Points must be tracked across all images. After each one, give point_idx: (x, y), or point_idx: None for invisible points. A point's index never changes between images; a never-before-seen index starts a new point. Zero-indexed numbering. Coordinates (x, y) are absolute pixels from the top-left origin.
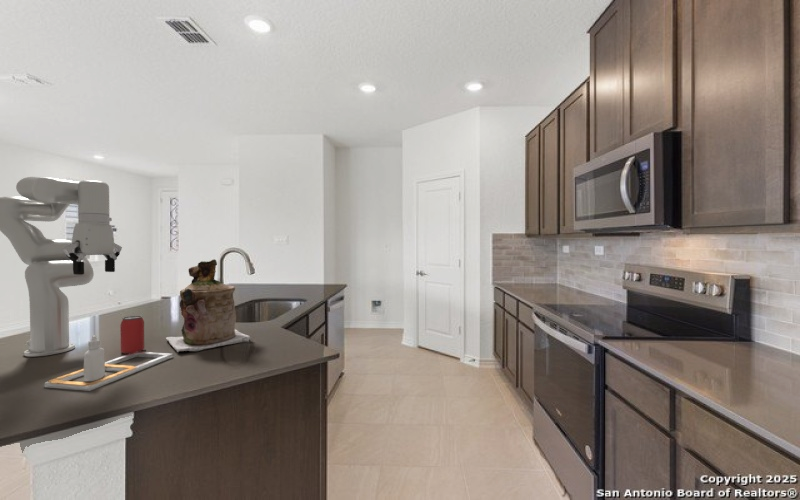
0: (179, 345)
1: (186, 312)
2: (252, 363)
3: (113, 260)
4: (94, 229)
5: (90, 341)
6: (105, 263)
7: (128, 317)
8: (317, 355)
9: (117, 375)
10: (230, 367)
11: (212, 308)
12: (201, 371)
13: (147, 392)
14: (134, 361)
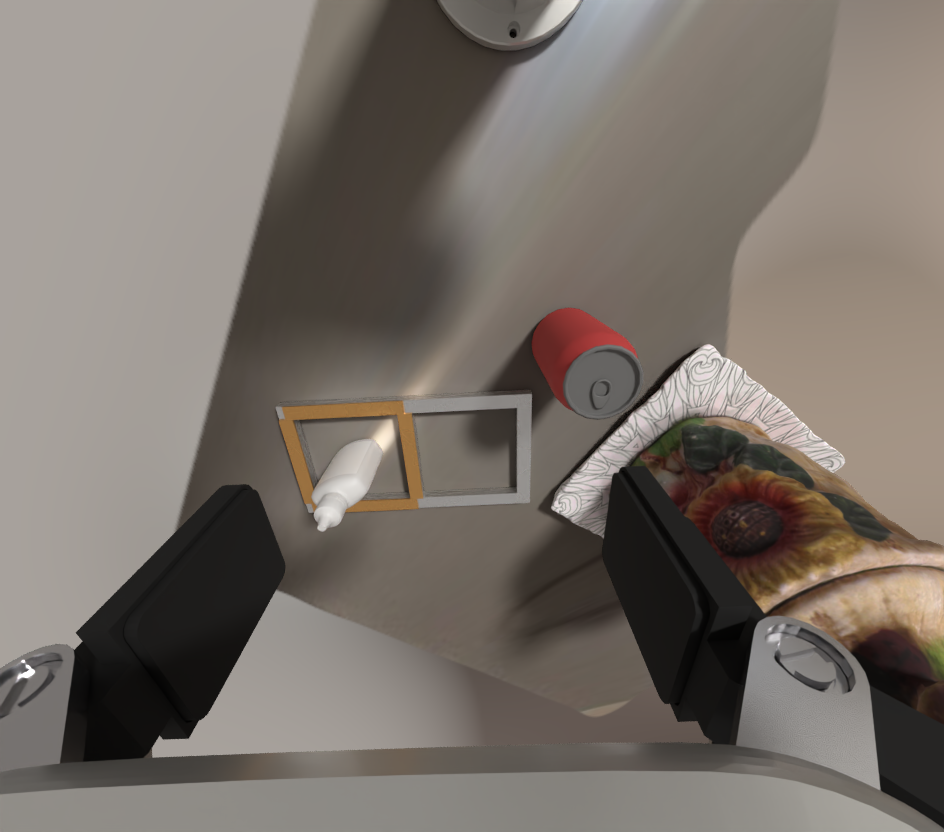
0: (606, 462)
1: None
2: (520, 646)
3: (678, 711)
4: None
5: (315, 517)
6: (664, 561)
7: (615, 350)
8: (581, 704)
9: (369, 510)
10: (491, 628)
11: None
12: (459, 601)
13: (351, 591)
14: (479, 433)
